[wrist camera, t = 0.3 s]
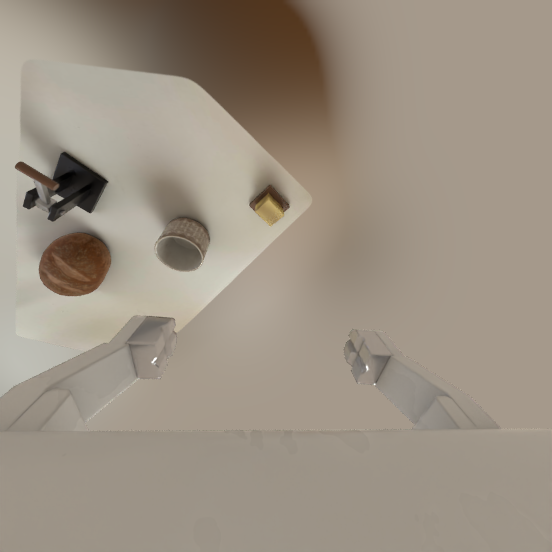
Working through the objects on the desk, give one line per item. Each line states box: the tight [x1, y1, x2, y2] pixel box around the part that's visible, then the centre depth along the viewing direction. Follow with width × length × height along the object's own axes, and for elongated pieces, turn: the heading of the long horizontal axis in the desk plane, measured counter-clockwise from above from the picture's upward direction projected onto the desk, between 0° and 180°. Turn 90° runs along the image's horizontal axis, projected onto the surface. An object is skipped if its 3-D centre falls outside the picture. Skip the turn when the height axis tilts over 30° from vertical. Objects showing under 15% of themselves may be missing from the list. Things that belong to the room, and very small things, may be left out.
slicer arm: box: [15, 162, 59, 213], centre depth 40 cm, size 14×5×2 cm, turn 132°
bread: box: [39, 233, 111, 296], centre depth 65 cm, size 16×29×11 cm, turn 134°
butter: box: [249, 185, 290, 226], centre depth 55 cm, size 8×8×5 cm
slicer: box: [23, 152, 108, 222], centre depth 47 cm, size 12×9×13 cm
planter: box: [154, 218, 210, 272], centre depth 59 cm, size 13×13×10 cm
